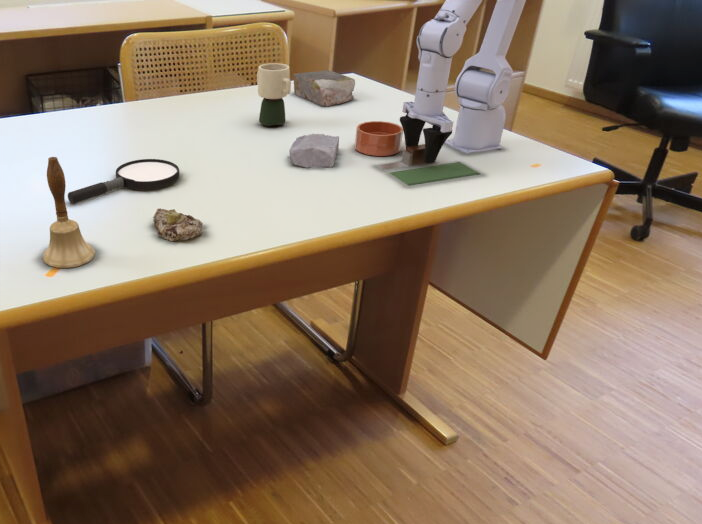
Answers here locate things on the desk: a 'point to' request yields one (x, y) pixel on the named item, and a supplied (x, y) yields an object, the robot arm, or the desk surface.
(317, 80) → the geological specimen
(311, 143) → the stone block
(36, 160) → the desk surface
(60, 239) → the hand bell
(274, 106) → the character mug
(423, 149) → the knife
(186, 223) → the mineral rock
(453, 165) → the green flat rectangular slab
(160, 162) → the magnifying glass
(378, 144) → the bowl
